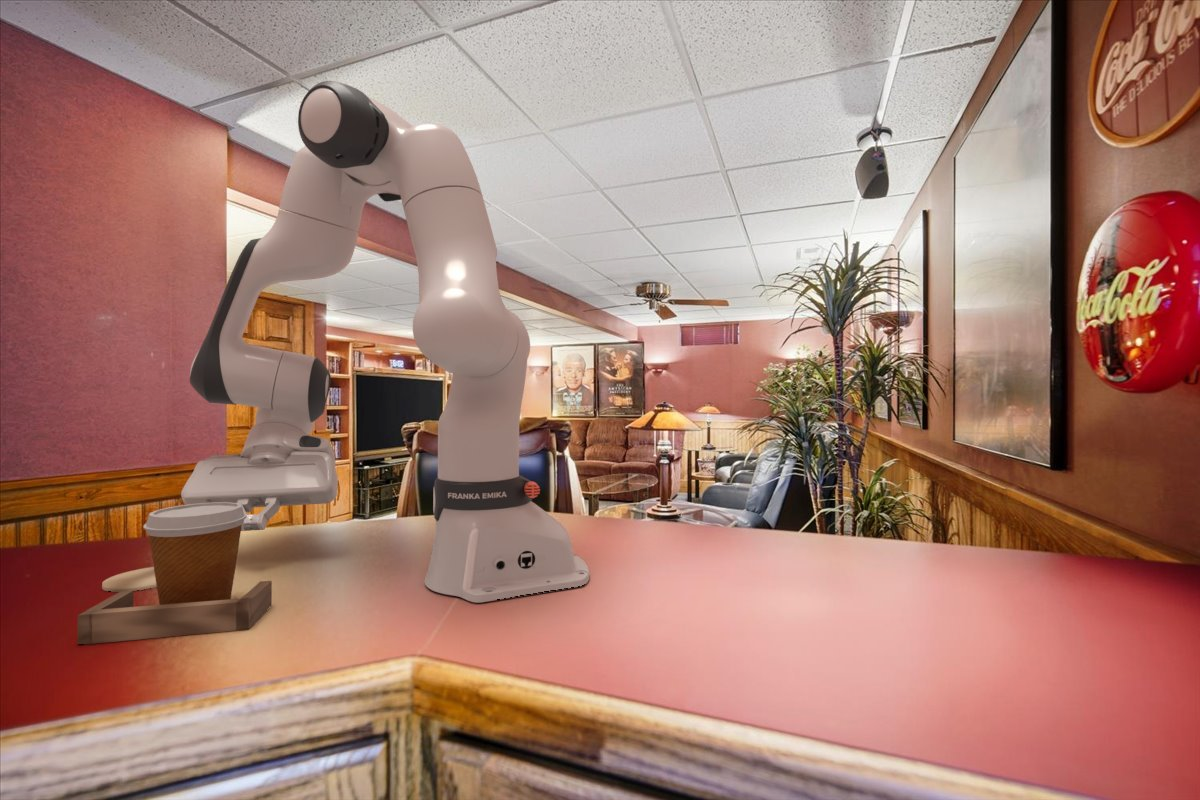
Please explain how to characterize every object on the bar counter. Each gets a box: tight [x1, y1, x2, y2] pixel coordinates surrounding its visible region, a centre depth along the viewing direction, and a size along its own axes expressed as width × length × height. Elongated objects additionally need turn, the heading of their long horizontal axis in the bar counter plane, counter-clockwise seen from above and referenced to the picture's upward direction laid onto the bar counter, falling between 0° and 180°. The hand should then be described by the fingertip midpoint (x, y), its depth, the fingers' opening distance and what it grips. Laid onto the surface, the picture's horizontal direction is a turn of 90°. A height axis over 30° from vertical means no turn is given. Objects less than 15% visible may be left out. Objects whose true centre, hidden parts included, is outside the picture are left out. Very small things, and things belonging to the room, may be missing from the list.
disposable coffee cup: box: [143, 502, 248, 605], centre depth 61 cm, size 10×10×12 cm
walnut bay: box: [77, 580, 273, 645], centre depth 58 cm, size 15×7×3 cm, turn 104°
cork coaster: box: [101, 566, 157, 593], centre depth 72 cm, size 9×9×1 cm
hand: (251, 528), depth 75 cm, fingers closed
